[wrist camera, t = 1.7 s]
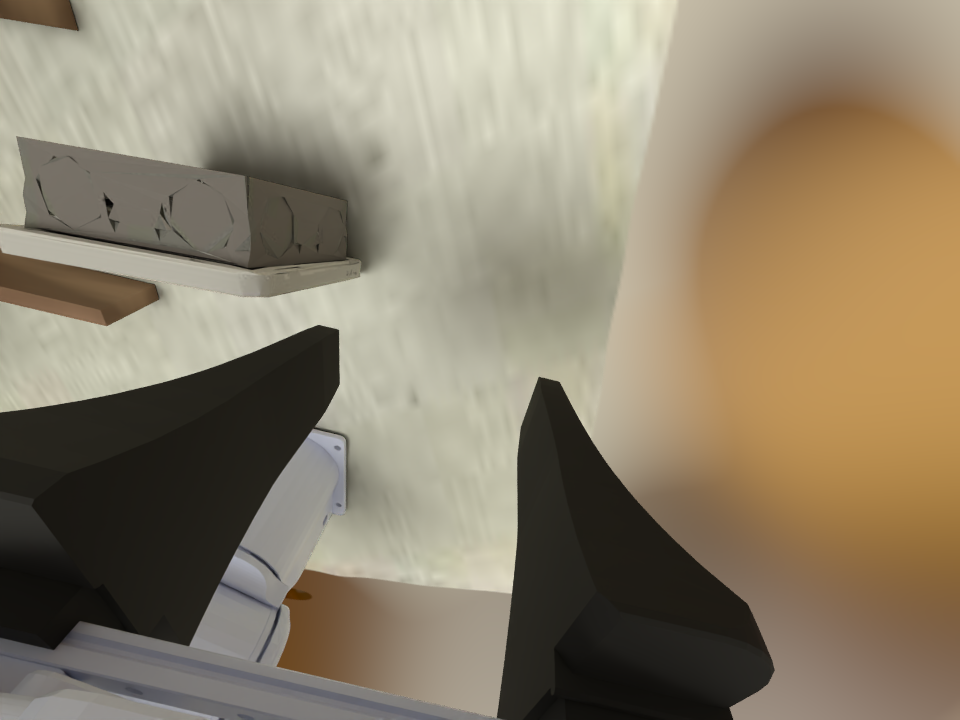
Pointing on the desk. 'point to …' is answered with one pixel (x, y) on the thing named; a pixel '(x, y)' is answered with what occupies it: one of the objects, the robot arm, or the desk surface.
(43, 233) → the electrical switch
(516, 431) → the desk surface
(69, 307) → the socket dock
